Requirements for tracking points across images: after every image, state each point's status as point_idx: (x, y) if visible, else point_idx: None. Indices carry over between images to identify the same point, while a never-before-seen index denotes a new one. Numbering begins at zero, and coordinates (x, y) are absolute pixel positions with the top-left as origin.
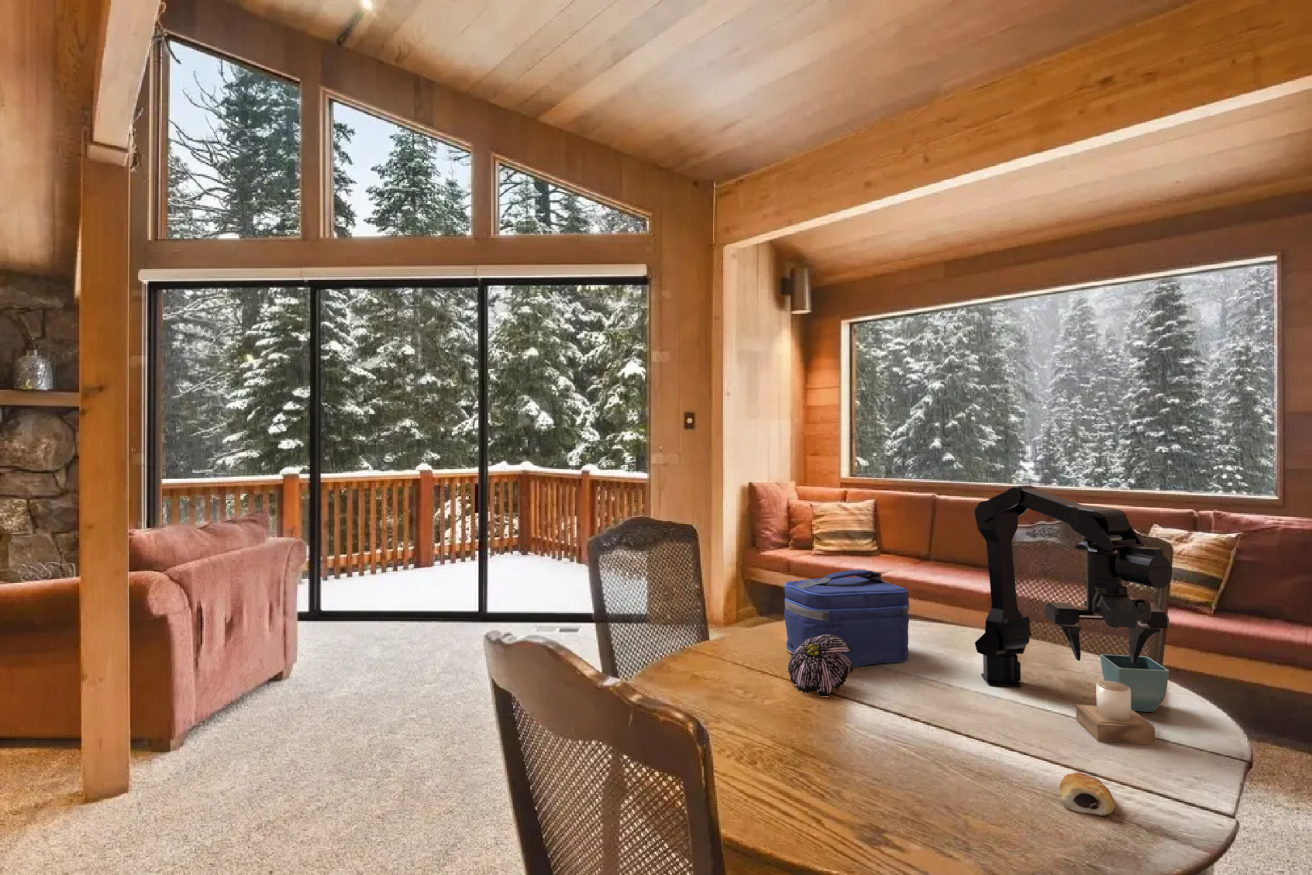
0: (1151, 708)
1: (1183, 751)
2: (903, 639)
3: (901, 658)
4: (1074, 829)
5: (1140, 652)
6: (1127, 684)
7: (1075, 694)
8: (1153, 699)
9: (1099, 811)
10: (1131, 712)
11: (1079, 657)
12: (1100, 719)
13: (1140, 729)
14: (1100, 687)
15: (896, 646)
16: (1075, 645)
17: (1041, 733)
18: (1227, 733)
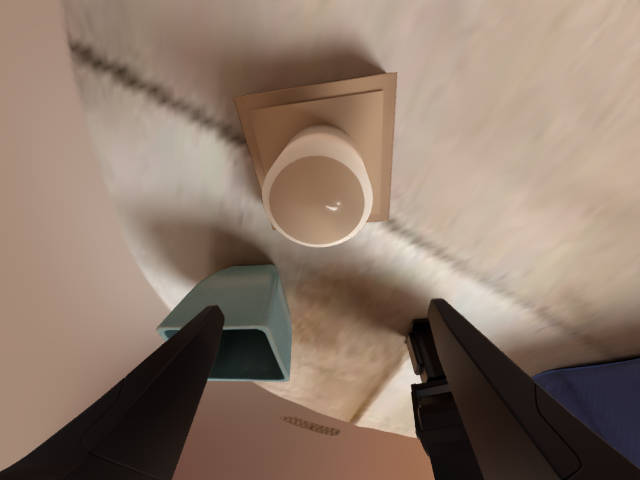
0: (232, 267)
1: (190, 63)
2: (581, 412)
3: (563, 375)
4: None
5: (159, 347)
6: (258, 294)
7: (335, 308)
8: (221, 276)
9: None
10: None
11: (444, 308)
12: (373, 114)
13: (273, 91)
14: (366, 186)
15: (594, 397)
16: (513, 371)
17: (519, 91)
18: (120, 204)
